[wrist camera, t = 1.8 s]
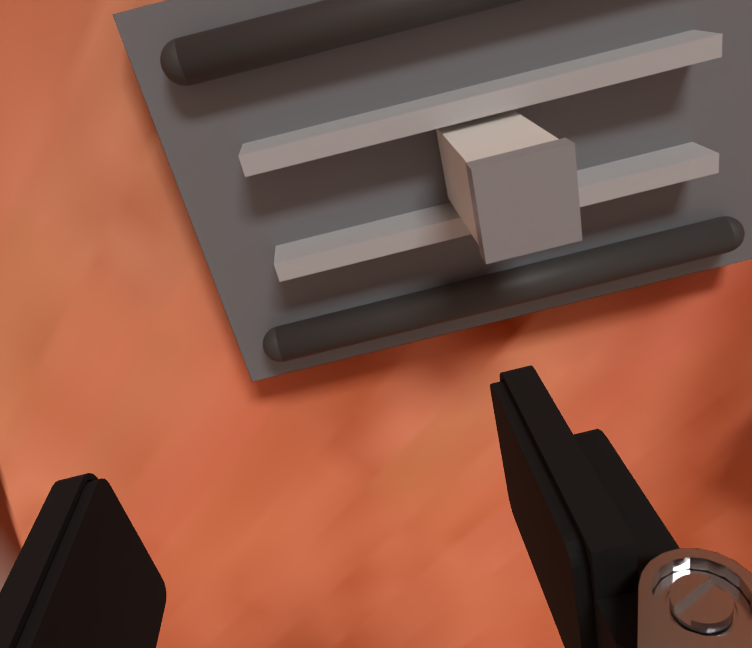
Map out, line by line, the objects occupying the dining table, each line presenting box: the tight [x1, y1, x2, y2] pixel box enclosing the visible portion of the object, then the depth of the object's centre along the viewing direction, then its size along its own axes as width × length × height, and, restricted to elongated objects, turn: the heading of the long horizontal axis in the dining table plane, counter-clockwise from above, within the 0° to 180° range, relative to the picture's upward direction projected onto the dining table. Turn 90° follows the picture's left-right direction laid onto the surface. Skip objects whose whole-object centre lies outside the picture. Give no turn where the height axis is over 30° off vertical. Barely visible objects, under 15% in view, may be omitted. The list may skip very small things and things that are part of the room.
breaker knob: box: [436, 110, 582, 264], centre depth 24 cm, size 3×3×7 cm
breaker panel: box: [113, 0, 752, 381], centre depth 27 cm, size 24×16×4 cm, turn 103°
